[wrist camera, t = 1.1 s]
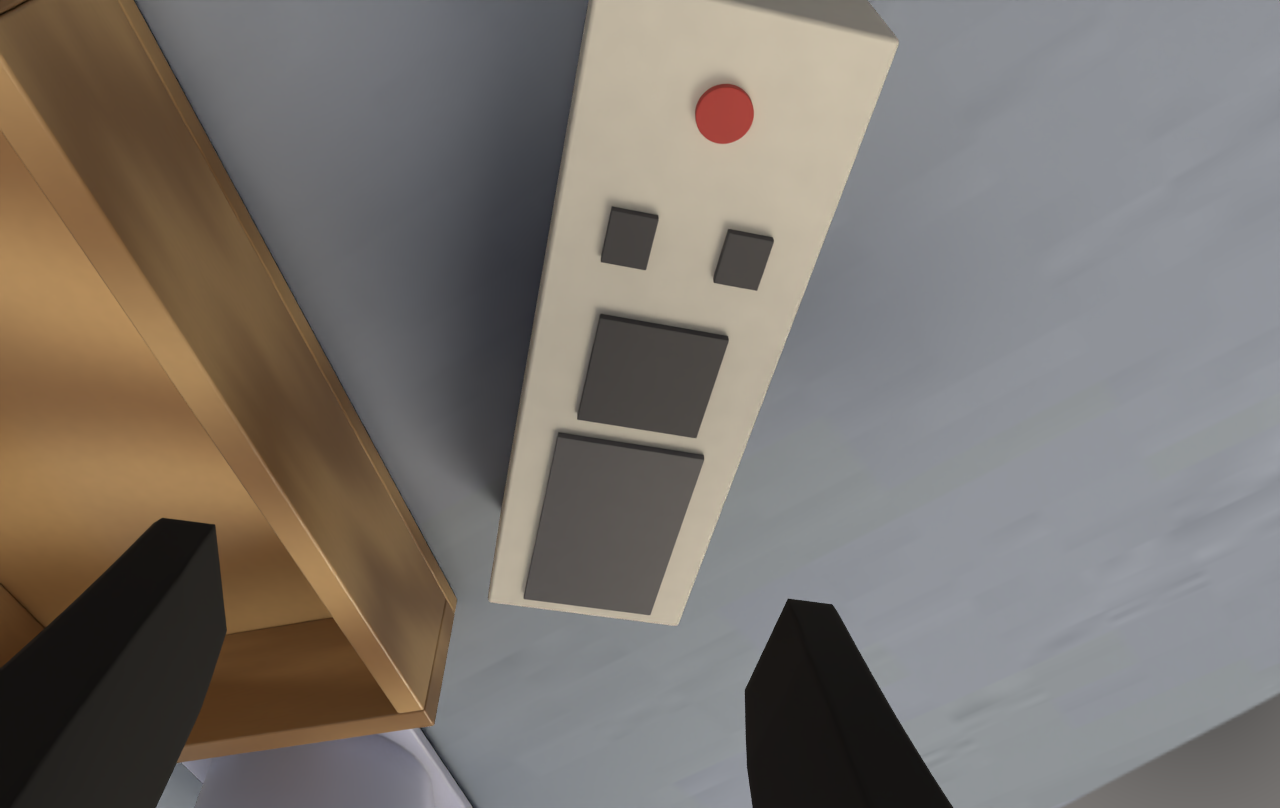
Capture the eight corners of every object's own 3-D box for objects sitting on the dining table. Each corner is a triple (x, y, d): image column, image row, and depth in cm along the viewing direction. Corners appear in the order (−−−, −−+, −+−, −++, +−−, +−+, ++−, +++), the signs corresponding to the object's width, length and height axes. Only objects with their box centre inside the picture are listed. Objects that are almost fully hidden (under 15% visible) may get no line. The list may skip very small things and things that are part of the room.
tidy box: (458, 599, 26) (435, 726, 23) (77, 661, 27) (6, 788, 24) (88, -88, 15) (-56, -29, 12) (-507, 78, 16) (-775, 169, 13)
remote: (672, 536, 24) (678, 633, 22) (500, 512, 24) (486, 608, 21) (860, -12, 16) (904, 43, 13) (601, -74, 15) (597, -28, 13)
